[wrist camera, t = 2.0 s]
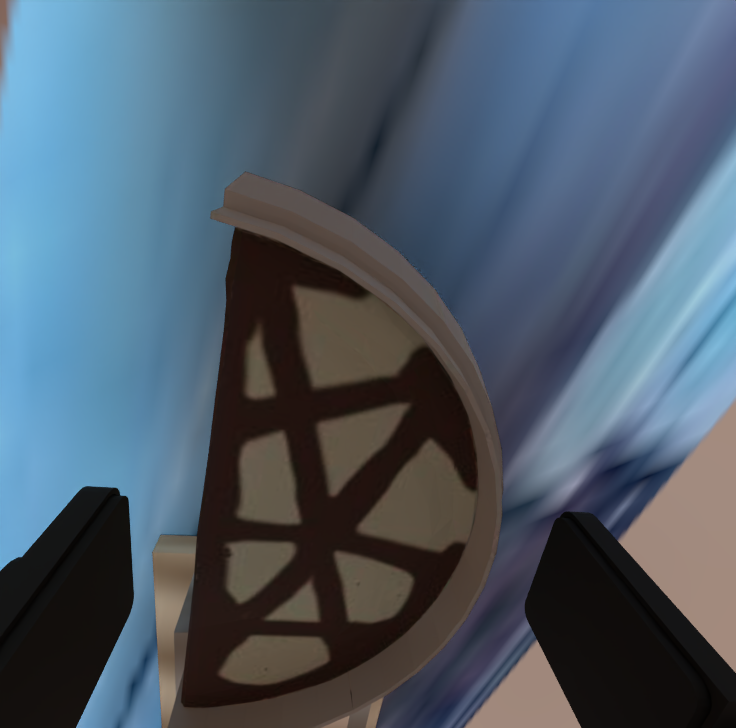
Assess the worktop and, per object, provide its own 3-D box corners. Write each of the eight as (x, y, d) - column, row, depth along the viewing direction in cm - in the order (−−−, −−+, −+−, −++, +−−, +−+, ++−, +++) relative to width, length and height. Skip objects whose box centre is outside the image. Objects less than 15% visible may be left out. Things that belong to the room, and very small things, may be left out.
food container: (375, 495, 19) (423, 770, 10) (240, 479, 18) (158, 770, 9) (455, 225, 15) (665, 277, 6) (285, 182, 14) (215, 163, 5)
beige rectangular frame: (160, 534, 19) (120, 618, 15) (414, 544, 21) (434, 620, 17) (169, 736, 25) (142, 834, 21) (368, 729, 26) (375, 818, 23)
